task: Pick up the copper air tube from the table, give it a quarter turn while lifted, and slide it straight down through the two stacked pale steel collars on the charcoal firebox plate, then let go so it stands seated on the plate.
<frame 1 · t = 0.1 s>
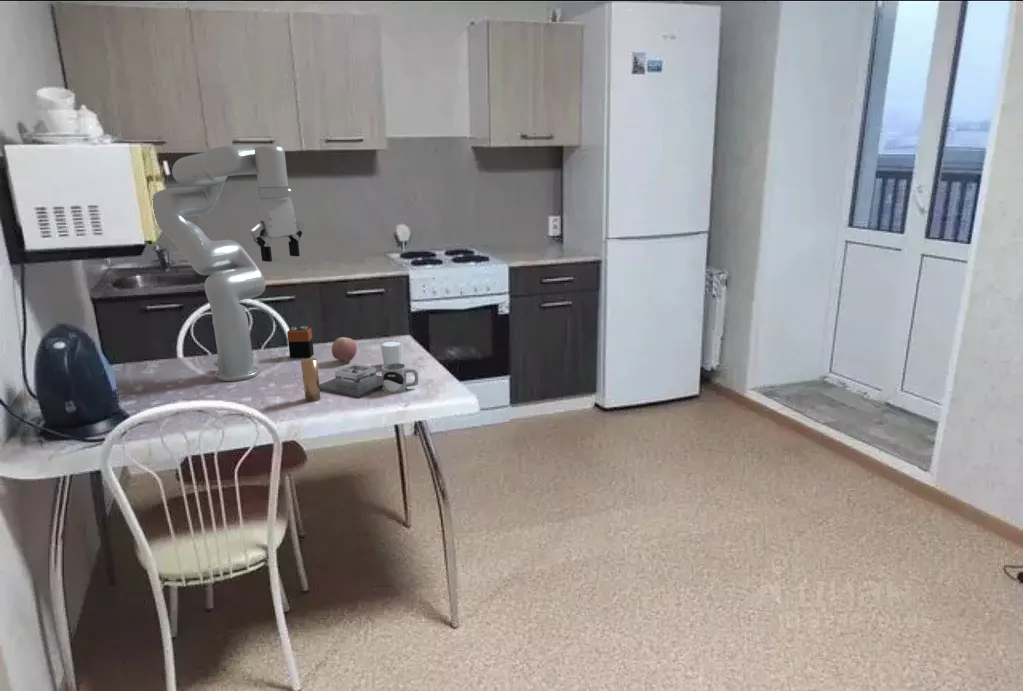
hand: (281, 258, 191), 37 cm above the table, tool pointing down, fingers open, 9 cm apart
battery: (302, 357, 231), on the table
shot glass: (393, 365, 220), on the table
air tube: (313, 399, 191), on the table
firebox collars: (356, 385, 201), on the table
apple: (345, 362, 224), on the table
mug: (401, 389, 198), on the table
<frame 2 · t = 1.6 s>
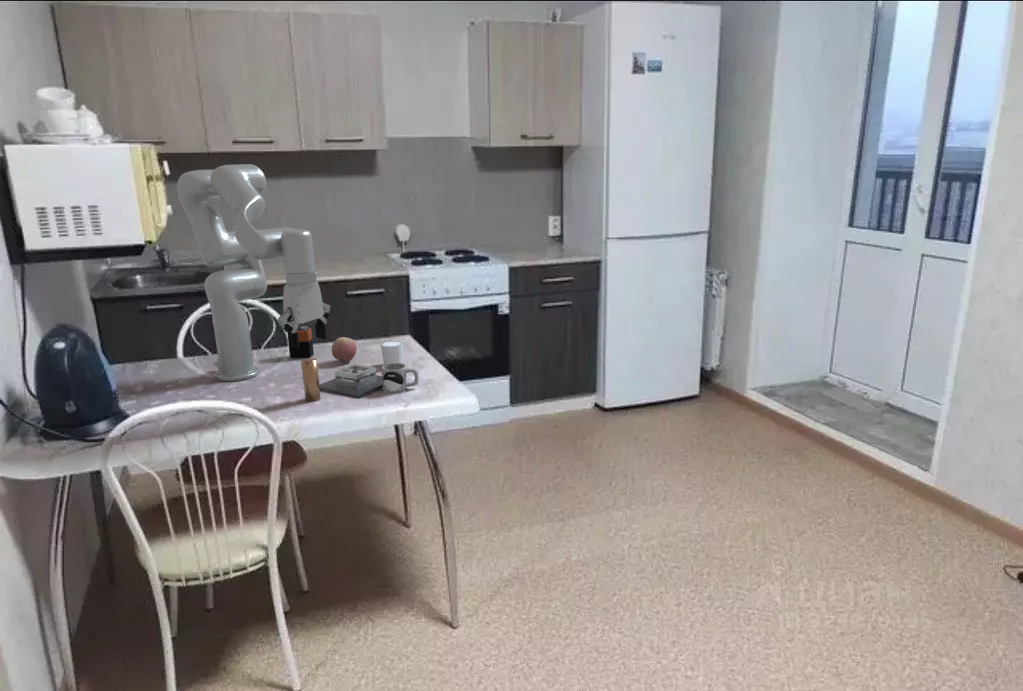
hand: (308, 342, 187), 16 cm above the table, tool pointing down, fingers open, 9 cm apart
nothing on the table moved.
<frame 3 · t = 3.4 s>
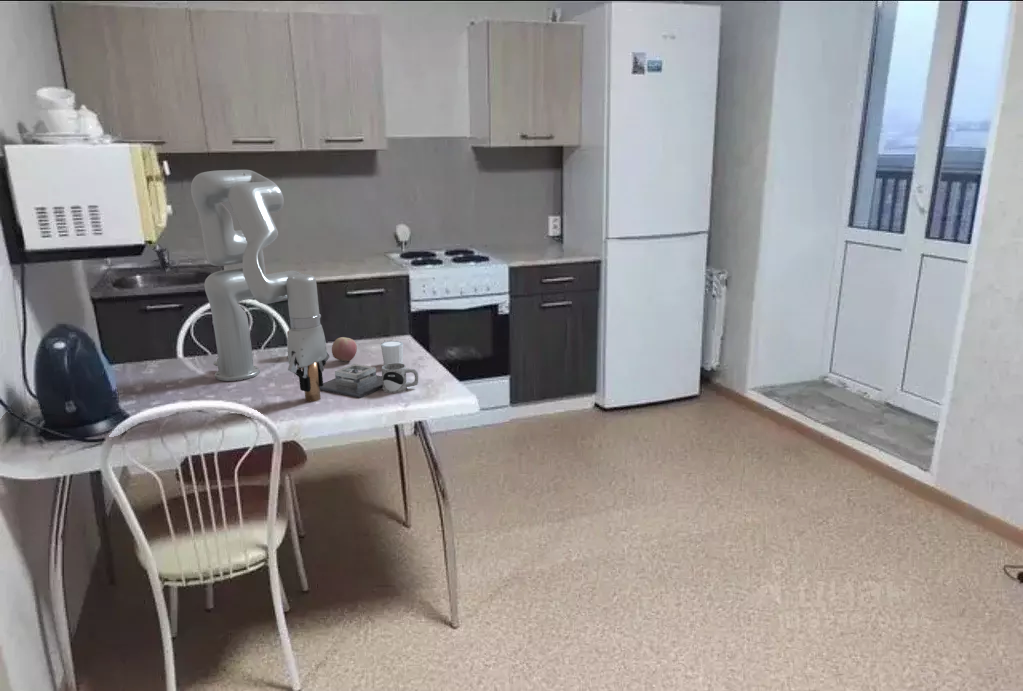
hand: (311, 387, 190), 3 cm above the table, tool pointing down, fingers closed on air tube, 4 cm apart
air tube: (313, 399, 191), on the table, touching gripper
everything else where it was.
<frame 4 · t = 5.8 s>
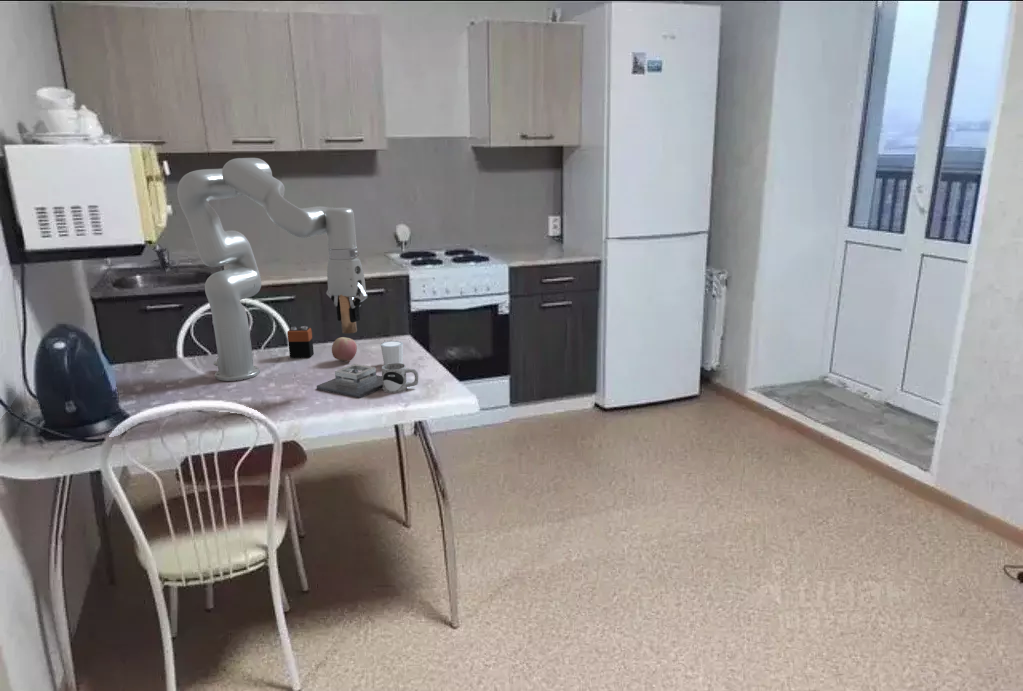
hand: (348, 319, 195), 19 cm above the table, tool pointing down, fingers closed on air tube, 4 cm apart
air tube: (349, 331, 196), point 16 cm above the table, touching gripper
everything else where it was.
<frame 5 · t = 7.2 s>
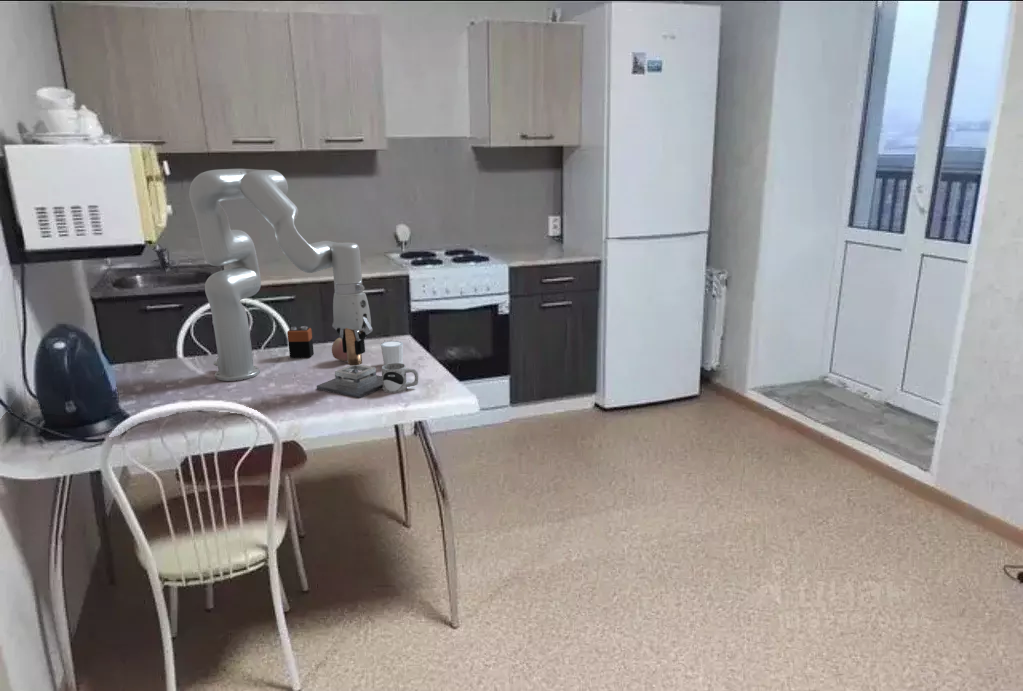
hand: (354, 351, 199), 10 cm above the table, tool pointing down, fingers closed on air tube, 4 cm apart
air tube: (355, 363, 200), point 7 cm above the table, touching gripper
everything else where it was.
when the fingers open (6 cm above the table, at t = 8.2 s): air tube drops 2 cm, resting on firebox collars.
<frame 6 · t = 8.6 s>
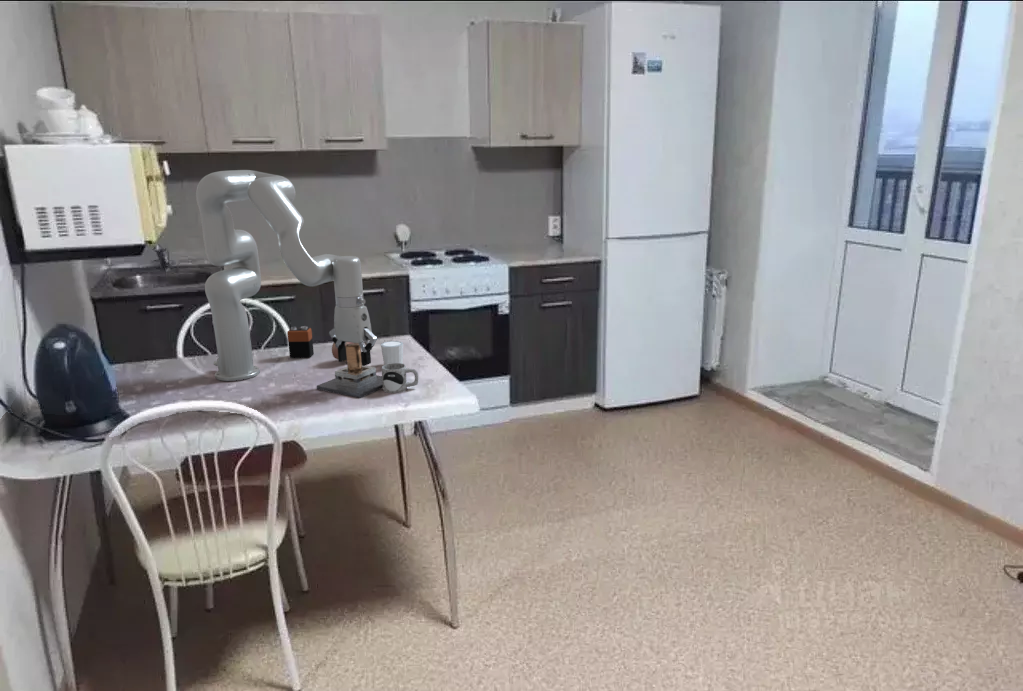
hand: (354, 362, 200), 7 cm above the table, tool pointing down, fingers open, 8 cm apart
air tube: (356, 382, 201), point 1 cm above the table, touching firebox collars
everything else where it was.
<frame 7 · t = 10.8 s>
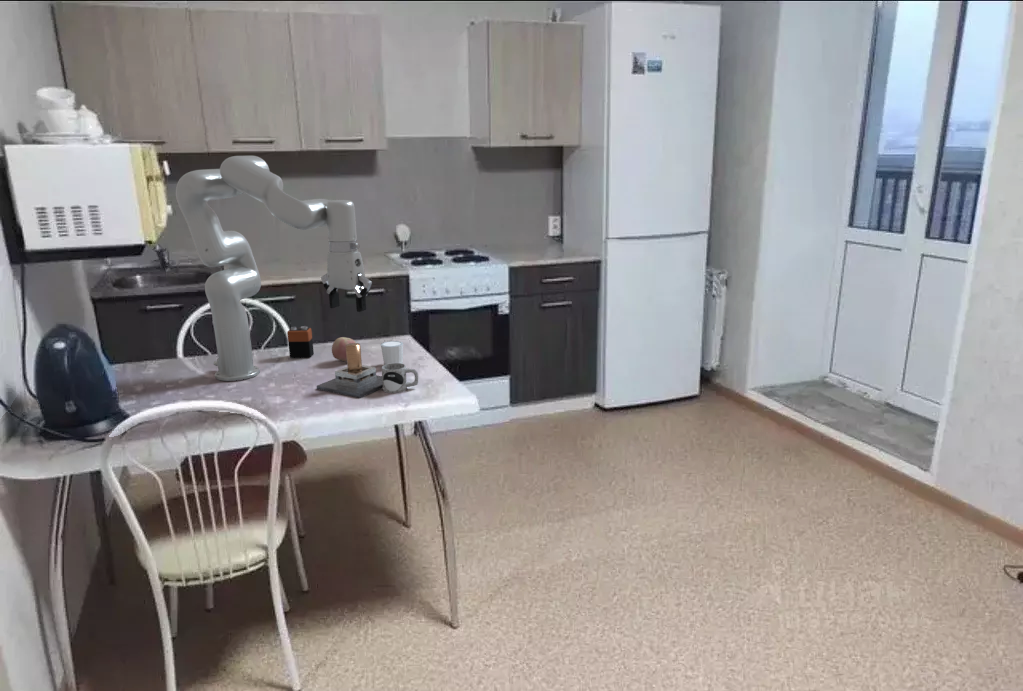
hand: (348, 309, 195), 22 cm above the table, tool pointing down, fingers open, 9 cm apart
nothing on the table moved.
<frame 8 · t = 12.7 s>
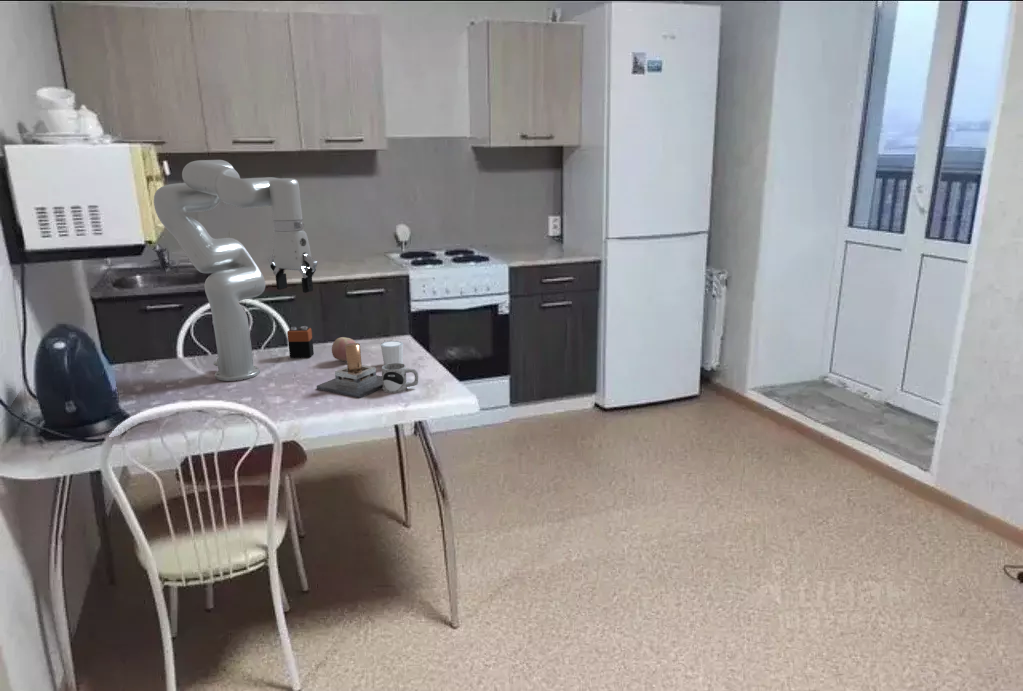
hand: (295, 290, 192), 28 cm above the table, tool pointing down, fingers open, 9 cm apart
nothing on the table moved.
at the end: air tube 0.1 cm off-centre on the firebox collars, point 1.0 cm above the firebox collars's base; air tube tilted 1°; the gripper is holding nothing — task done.
